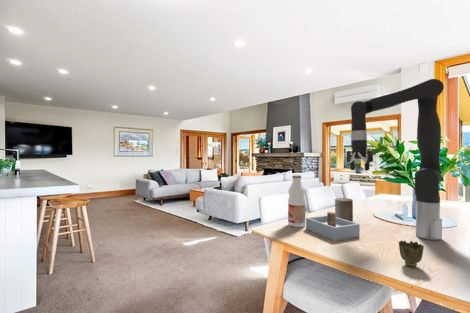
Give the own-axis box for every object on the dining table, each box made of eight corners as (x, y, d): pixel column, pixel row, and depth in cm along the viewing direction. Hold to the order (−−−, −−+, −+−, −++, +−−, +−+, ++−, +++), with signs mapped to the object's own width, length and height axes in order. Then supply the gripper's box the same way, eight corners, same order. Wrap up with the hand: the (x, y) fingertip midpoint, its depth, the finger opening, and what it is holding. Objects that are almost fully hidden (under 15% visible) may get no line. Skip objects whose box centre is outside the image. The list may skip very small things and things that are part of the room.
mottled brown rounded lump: (401, 268, 90) (401, 245, 90) (396, 260, 97) (396, 239, 97) (426, 271, 87) (426, 248, 87) (419, 263, 94) (420, 241, 94)
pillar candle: (356, 223, 149) (356, 197, 149) (346, 225, 143) (346, 198, 143) (341, 219, 157) (341, 195, 157) (331, 222, 151) (331, 196, 151)
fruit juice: (303, 228, 138) (303, 176, 137) (286, 226, 142) (286, 175, 142) (306, 224, 146) (307, 175, 146) (290, 222, 150) (290, 174, 150)
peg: (337, 233, 130) (337, 213, 130) (331, 234, 128) (331, 214, 128) (331, 231, 133) (331, 211, 133) (325, 232, 132) (325, 212, 132)
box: (359, 236, 125) (359, 224, 125) (334, 240, 118) (334, 227, 118) (329, 225, 143) (329, 215, 143) (306, 229, 137) (306, 218, 136)
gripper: (376, 138, 131) (376, 170, 130) (352, 140, 144) (353, 169, 143) (365, 138, 127) (366, 171, 127) (342, 140, 140) (343, 170, 140)
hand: (359, 170), depth 135 cm, fingers open, 8 cm apart
